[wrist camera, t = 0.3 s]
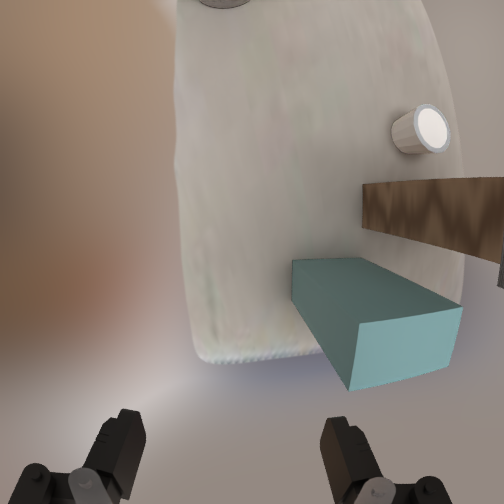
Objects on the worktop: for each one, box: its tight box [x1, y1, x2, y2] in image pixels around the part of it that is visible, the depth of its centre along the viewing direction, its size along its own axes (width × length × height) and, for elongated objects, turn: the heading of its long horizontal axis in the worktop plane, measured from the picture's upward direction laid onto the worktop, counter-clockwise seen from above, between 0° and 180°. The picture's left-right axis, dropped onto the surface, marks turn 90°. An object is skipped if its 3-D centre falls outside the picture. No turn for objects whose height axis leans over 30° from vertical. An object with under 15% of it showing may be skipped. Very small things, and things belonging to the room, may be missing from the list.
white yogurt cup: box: [391, 104, 450, 154], centre depth 33 cm, size 7×7×7 cm
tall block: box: [292, 258, 463, 391], centre depth 29 cm, size 6×10×21 cm, turn 91°
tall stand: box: [362, 177, 504, 264], centre depth 22 cm, size 6×11×32 cm, turn 91°
